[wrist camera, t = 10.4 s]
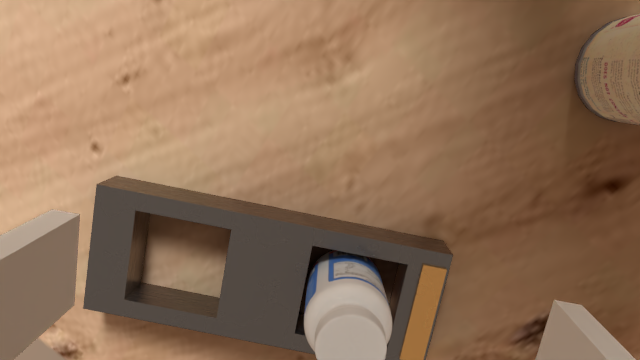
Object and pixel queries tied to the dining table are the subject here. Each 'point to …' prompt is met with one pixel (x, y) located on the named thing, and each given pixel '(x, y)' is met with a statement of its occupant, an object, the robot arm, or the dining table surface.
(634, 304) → the dining table surface
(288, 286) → the grey bottle holder tray
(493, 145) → the dining table surface
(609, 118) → the aerosol can
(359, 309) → the pill bottle
